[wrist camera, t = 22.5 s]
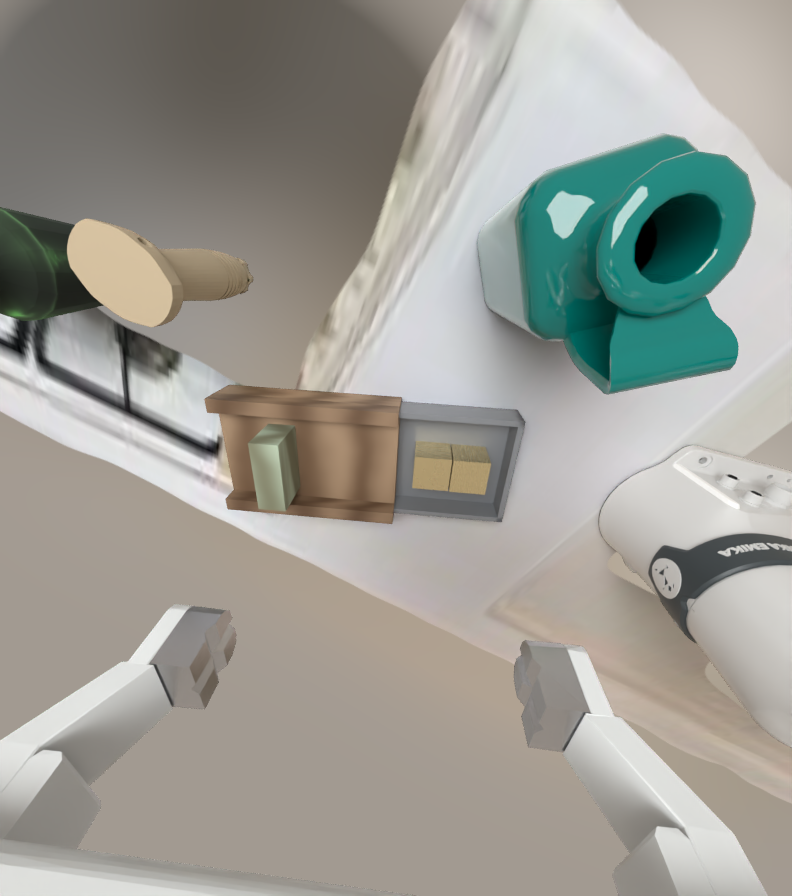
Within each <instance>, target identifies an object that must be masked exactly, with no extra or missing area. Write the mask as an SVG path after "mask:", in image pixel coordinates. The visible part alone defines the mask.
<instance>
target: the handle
mask: <svg viewBox="0 0 792 896" xmlns="http://www.w3.org/2000/svg"><path fill="white" fill-rule="evenodd" d="M67 255H68V261H69V264H70V267H71V269H72V270H73V271H74V273H75V274H76V276H77V277H78V278H79V280H80V281H81V282H82V284H83V285H84V286H85V288H86V289H87V290H88V291H89V292H90V294H91V295H92V296H93V297H94V298H95V299H97V300H98V301H99V302H100V303H102V304H103V305H104V306H106V307H107V308H109V309H110V310H111V311H113V312H114V313H115V314H117V315H118V316H120V317H122V318H123V319H126V320H128V321H130V322H134V323H137V324H141V325H145V326H148V327H156V326H160V325H163V324H166V323H168V322H170V321H172V320H173V319H174V318H175V316H177V314H178V312H179V310H180V308H181V305H182V302H183V301H196V300H197V301H204V300H205V301H211V300H220V299H226V298H229V297H232V296H235V295H237V294H239V293H240V294H241V293H245V292H246V291H248V286H249V284H250V283H251V282H253V276H252V275H251V274H250V272H249V270H248V267H247V266H248V264H247V263H246V262H245V261H244V260H242V259H240V258H234V257H232V256H230V255H228V254H225V253H222V252H217V251H213V250H206V249H158V248H157V247H156V246H155V245H154V244H153V243H151V242H150V241H148V240H147V239H145V238H143V237H141V236H140V235H138V234H136V233H135V232H133V231H130V230H128V229H125V228H122V227H119V226H116V225H113V224H110V223H106V222H102V221H98V220H93V219H87V218H86V219H84V220H82V221H80V222H78V223H77V224H76V225H75V226H74V228H73V229H72V231H71V233H70V236H69V239H68V244H67Z"/></svg>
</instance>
